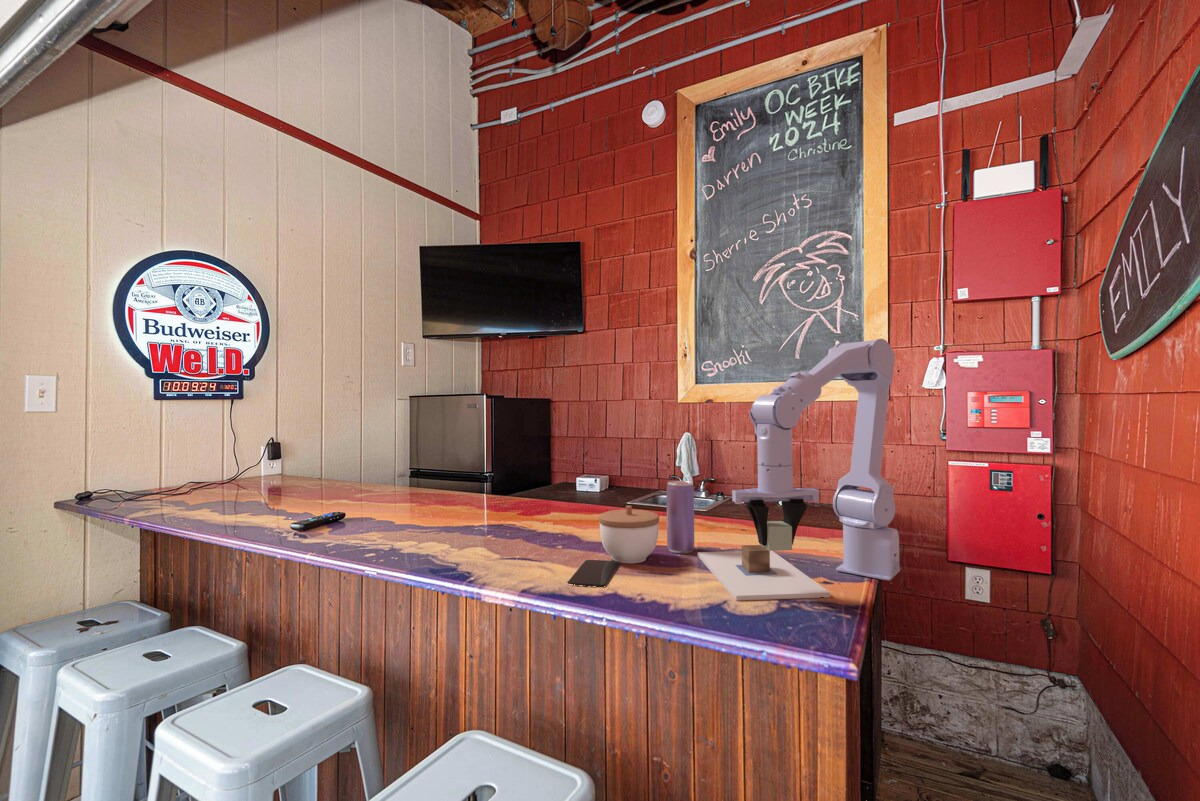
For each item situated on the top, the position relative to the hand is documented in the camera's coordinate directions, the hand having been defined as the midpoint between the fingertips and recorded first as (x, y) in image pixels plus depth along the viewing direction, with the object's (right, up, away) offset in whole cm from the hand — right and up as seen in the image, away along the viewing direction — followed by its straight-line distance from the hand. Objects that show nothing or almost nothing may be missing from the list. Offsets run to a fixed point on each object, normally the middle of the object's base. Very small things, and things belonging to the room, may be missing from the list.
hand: (775, 543), depth 94 cm
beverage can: (-12, -9, +27) cm, 31 cm away
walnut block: (-1, -8, +10) cm, 12 cm away
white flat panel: (-1, -8, +10) cm, 13 cm away
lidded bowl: (-24, -9, +21) cm, 33 cm away
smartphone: (-31, -9, +11) cm, 34 cm away
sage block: (0, -1, 0) cm, 1 cm away
